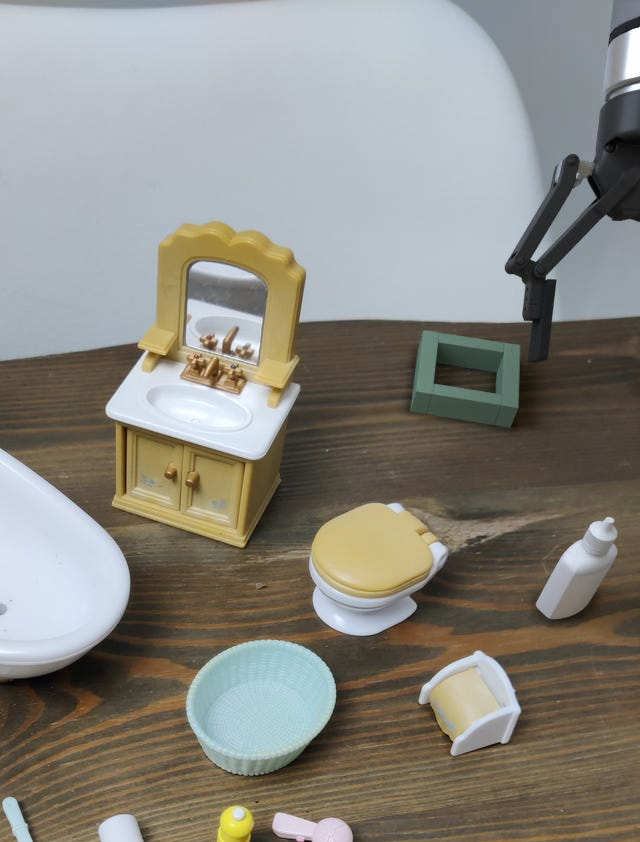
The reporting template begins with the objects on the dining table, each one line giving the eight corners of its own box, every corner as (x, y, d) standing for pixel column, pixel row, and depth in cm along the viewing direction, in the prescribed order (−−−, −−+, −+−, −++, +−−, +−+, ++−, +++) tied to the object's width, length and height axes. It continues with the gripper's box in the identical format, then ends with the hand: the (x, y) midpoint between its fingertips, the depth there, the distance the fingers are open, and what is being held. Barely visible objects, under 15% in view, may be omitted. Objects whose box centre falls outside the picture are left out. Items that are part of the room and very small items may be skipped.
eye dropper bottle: (596, 623, 93) (649, 538, 83) (537, 623, 93) (584, 539, 83) (584, 587, 95) (634, 501, 86) (527, 587, 95) (571, 501, 86)
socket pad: (511, 369, 114) (520, 344, 112) (508, 432, 108) (518, 407, 105) (416, 354, 116) (423, 329, 113) (408, 415, 110) (416, 391, 107)
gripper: (775, 123, 84) (738, 376, 88) (484, 109, 85) (459, 362, 88) (832, 89, 77) (789, 367, 80) (513, 74, 77) (484, 352, 81)
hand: (616, 365), depth 84 cm, fingers open, 13 cm apart
